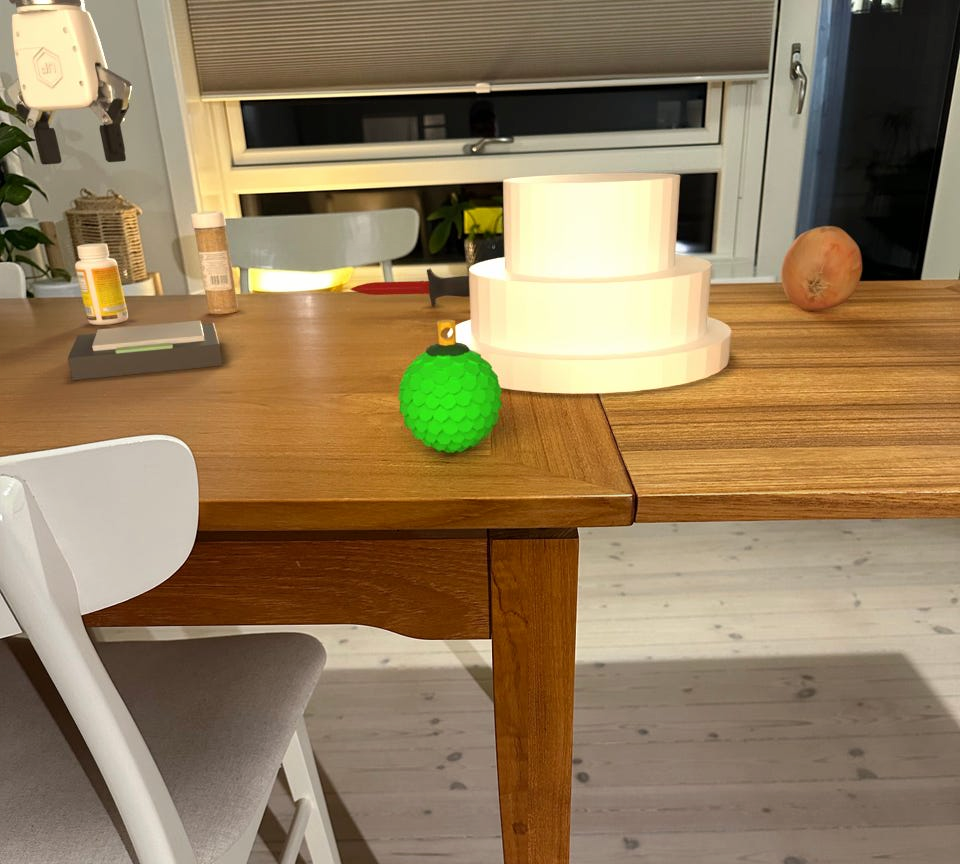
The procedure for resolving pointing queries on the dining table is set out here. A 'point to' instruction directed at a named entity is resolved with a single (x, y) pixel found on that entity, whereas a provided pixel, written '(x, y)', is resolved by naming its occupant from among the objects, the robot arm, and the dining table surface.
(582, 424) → the dining table surface
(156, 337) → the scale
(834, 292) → the onion
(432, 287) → the knife
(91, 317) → the supplement bottle
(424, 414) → the ornament
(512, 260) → the cake
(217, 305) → the sprinkles bottle
